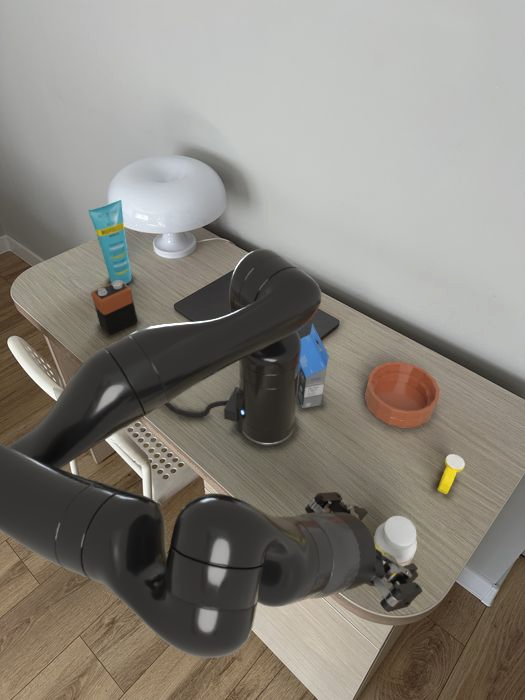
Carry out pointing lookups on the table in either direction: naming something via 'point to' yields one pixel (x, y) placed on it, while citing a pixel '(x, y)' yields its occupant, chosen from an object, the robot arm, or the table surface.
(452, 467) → the yellow flashlight
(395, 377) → the bowl
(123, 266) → the tube
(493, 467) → the table surface
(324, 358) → the blue grey carton
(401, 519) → the supplement bottle
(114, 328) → the battery
